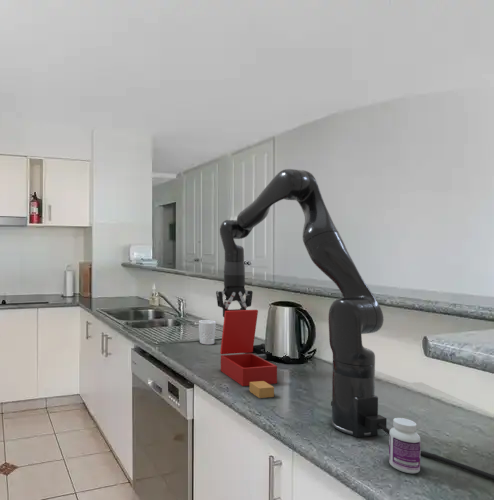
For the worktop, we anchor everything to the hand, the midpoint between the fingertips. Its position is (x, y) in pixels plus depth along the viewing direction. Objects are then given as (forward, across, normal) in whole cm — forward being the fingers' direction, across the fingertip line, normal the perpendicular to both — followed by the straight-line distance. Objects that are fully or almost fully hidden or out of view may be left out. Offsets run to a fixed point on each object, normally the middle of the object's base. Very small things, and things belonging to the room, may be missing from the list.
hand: (234, 318), depth 147 cm
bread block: (+19, -4, -24) cm, 31 cm away
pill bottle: (+20, +3, -66) cm, 69 cm away
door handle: (+19, +18, +11) cm, 28 cm away
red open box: (+19, 0, -9) cm, 21 cm away
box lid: (+4, 0, -4) cm, 6 cm away
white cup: (+18, +6, +37) cm, 42 cm away
